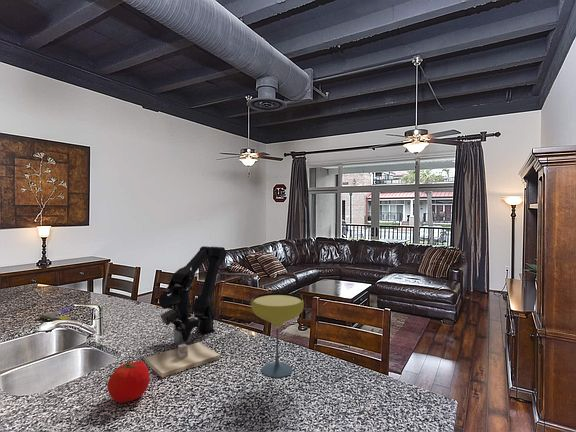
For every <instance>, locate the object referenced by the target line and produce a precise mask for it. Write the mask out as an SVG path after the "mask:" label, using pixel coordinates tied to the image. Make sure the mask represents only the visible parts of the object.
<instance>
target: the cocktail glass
mask: <svg viewBox="0 0 576 432" xmlns="http://www.w3.org/2000/svg"><path fill="white" fill-rule="evenodd" d="M304 306H305V305H304V299H303V297H301V296H300V295H298V294H293V293H288V292H287V293H286V292H268V293H266V292H265V293H262V294H258V295H255V296H253V298H252V299H251V306H250V307H251V311H252V313H253V314H254V315H255V316H257V317H258V318H260V319H262V320H264V321H266V322H269V323H270V324H271V325H272V326H273V327H274V328H275V329H276V336H275V337H276V341H275V342H276V345H275V348H276V349H275V350H276V351H275V362H269V363H267V364H265V365H263V366H262V367H261V372H262V374H263V375H264V376H266V377H269V378H273V379H275V378H277V379H280V378H284V377H287V376H290V375H291V374H292V373H293V371H294V370H293V367H292V366H291V365H290V364H288V363H285V362H280V360H279V329H280V328H281V327H282V326H283V324H285V323H286V322H288V321H291V320H293V319H295V318H296V317H298V316H299V315H300V314H302V312H303V310H304Z"/></svg>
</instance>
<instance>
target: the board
mask: <svg viewBox="0 0 576 432" xmlns="http://www.w3.org/2000/svg"><path fill="white" fill-rule="evenodd" d="M220 359H221V354H220V353H218V352H216V351H215V350H213V349H212V348H210V347H208V346H207V345H205V344H204V343H202V342H195V343H191V344H187V345H186V344H185V343H184V344H181V345H177V348H174V349H170V350H167V351H164V352H160V353H157V354H153V355H149V356H146V357H144V364H145V365H146V364H147V366H148V367H150V368H151V369H152V370H153V371H154V372H155V373H156V374H158V376H159V377H161V378H162V379H163V378H165V377H166V378H167V377H169V375H170V376H172V374H173V375H175V373H176V374H179V373H181V371H182V372H184V371H183V370H185V371H187V370H186V369H188V370H191V369H193V367H194V368H196V367H199V366H202V365H205V364H209V363H211V362H215V361H217V360H220ZM190 368H191V369H190ZM178 372H179V373H178Z"/></svg>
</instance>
